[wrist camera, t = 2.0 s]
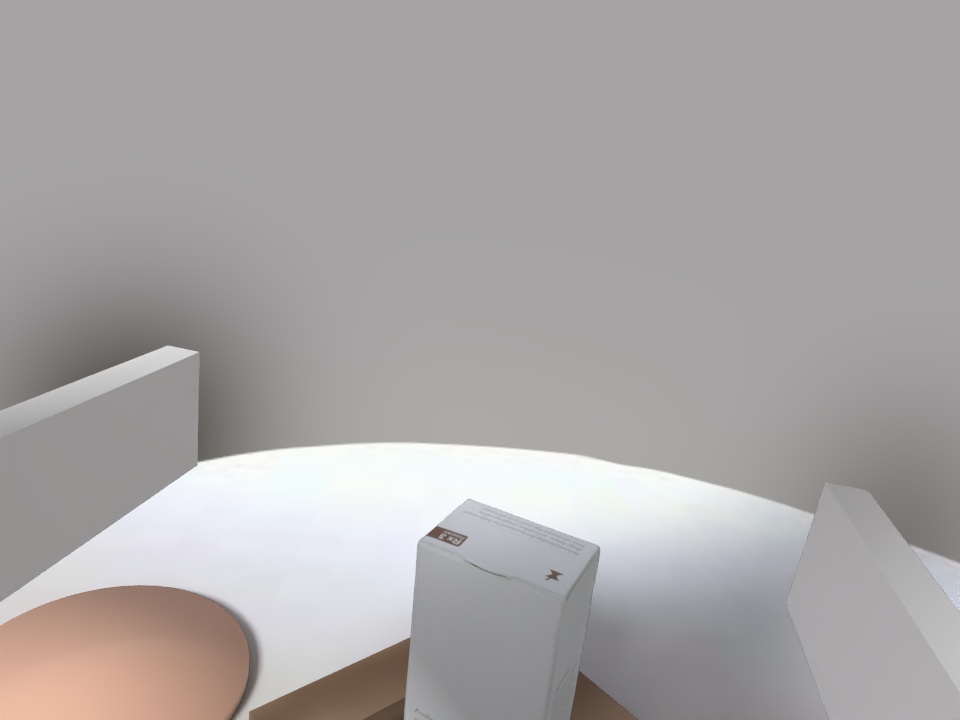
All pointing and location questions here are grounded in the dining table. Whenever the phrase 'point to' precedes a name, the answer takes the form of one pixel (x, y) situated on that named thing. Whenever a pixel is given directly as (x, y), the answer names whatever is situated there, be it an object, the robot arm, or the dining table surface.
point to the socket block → (397, 694)
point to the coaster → (123, 658)
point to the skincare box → (497, 618)
